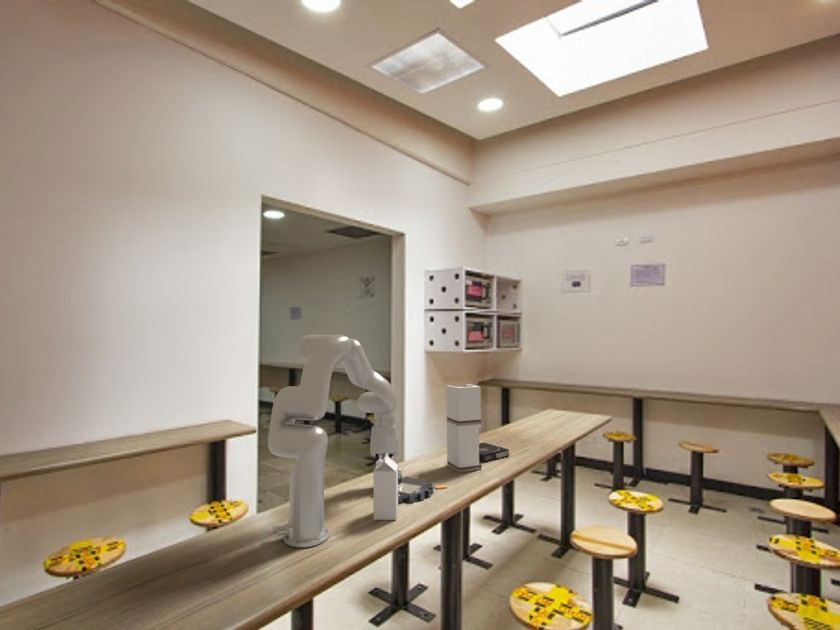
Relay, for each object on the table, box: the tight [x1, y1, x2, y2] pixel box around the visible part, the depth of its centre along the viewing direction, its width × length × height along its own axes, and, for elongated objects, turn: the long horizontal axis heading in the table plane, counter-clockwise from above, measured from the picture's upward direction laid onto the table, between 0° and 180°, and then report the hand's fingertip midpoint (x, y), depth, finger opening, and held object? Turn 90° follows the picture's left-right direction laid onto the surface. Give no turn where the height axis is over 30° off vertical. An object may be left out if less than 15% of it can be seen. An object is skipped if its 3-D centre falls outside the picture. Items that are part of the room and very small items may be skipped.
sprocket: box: [398, 466, 434, 504], centre depth 166 cm, size 22×22×6 cm
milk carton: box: [372, 453, 399, 521], centre depth 144 cm, size 7×7×19 cm
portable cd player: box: [479, 442, 510, 464], centre depth 214 cm, size 16×17×4 cm
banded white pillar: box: [446, 383, 483, 473], centre depth 196 cm, size 11×11×35 cm
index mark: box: [434, 484, 448, 490], centre depth 170 cm, size 4×2×1 cm, turn 108°
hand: (384, 470), depth 173 cm, fingers closed
